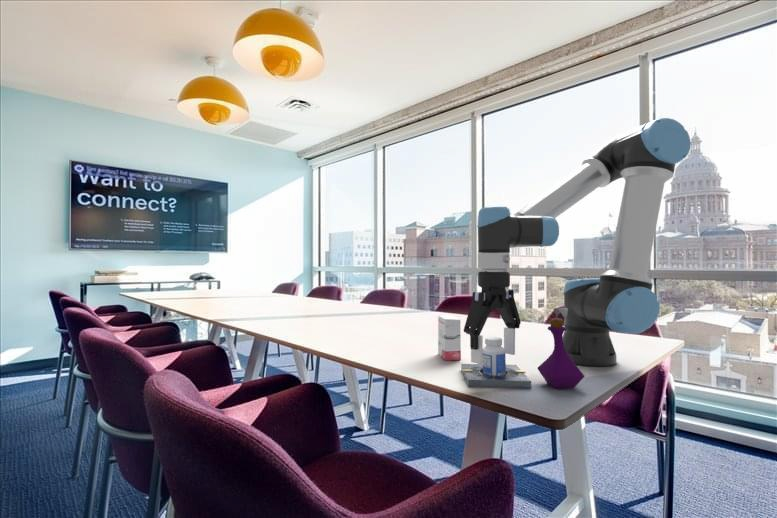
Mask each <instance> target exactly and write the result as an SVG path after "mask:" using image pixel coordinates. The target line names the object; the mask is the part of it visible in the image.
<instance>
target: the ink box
mask: <svg viewBox="0 0 777 518" xmlns="http://www.w3.org/2000/svg"><path fill="white" fill-rule="evenodd" d="M437 317H438V319H437V321H438V323H437V329H438V332H437V333H438V334H437V336H438V339H437V341H438V342H437V347H438V349H437V354H438V355H439V356H440V357H441V358H442V359H443V360H445V361H461V359H462V354H461V353H462V352H461V350H462V349H461V348H462V347H461V346H462V345H461V340H462V339H461V338H462V337H461V336H462V335H461V319H460V318H457V317H456V316H454V315H438V316H437Z"/></svg>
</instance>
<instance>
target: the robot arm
mask: <svg viewBox="0 0 777 518" xmlns="http://www.w3.org/2000/svg"><path fill="white" fill-rule="evenodd" d="M691 145H692V143H691V138H690V134H689V132H688V130H687V129H685V126H684V125H683V124H682V123H681V122H679V121H677V120H676V119H674V118H669V117H661V118H658V119H654V120H649V121H646V123H644V124H642V125H639V126H638V127H634V128H633V129H630V130H628V131H626V132H623V133H621V134H618V135H616V136H615V137H613V138H612V139H610V140H609V141H608V142H606V143H605V144H603V145H602V146H601V147H600V148H598V149H597V150H596V151H595V152H594V153H591V155H589V156H588V157H586V158H585V159H584V160H583V161H582V162H581V166H580V167H579V168H577V169H576V170H574V171H573V172H571V173H570V174H569V175H567V176H566V177H564V178H563V179H562V180H561V181H558V183H556V184H555V185H553V186H552V187H551V188H549V189H548V190H546V191H545V192H544V193H542V194H540V195H539V196H538V197H537V198H535V199H534V200H532V201H531V202H530V203H529V204H527V205H525V206H524V207H522V208H521V209H520V210H518V211H517V212H516V213H514V214H511V210H510V208H509V207H508V206H503V205H491V206H485V207H482V208H480V209H479V211H478V215H477V225H476V228H477V249H478V250H477V251H478V252H477V269H478V270H479V271H478V273H477V286H479V287H480V288H481V291H473V292H472V297H471V303H470V307H469V310H468V314H467V316H466V321H465V323H464V328H463V333H466V335H469V336H470V337H469V339H470V340H469V342H470V343H469V344H470V345H469V346H470V362H471V363H472V364H483V348H484V346H483V339H484V337H483V335H481V333H482V331H483V328H484V326H485V325H486V322H487V320H488V318H489V315H490V314H491V313H492V312H493V311H496V310H497V311H498V313H499V314H500V317H501V319H502V321H503V322H504V325H505V327H503V348H504V349H505V355H511V356H514V355H516V329H519V328H520V327H521V326H520V325H521V317H520V315H519V311H518V308H517V304H516V301H515V295H514V294H515V291H514V289H511V288H509V287H510V286H511V273H510V272H509V271H508V270H510V264H511V263H510V262H511V261H510V260H511V257H510V255H511V254H510V253H511V248H526V247H527V248H529V247H540V248H543V247H551V246H554V245H555V244H556V243H557V242H558V240H559V236H560V226H559V222H558V220H557V219H556V218H558V217H559V216H560V215H561V214H564V212H566V211H567V210H569V209H570V208H571V207H573V206H575V205H576V204H577V203H578V202H580V201H581V200H583V199H584V198H585V197H587V196H588V195H590V194H591V193H593V192H594V191H595V190H596V189H598V188H605V187H606V186H608V185H610V184H611V183H612V182H615V181H617V180H619V179H621V178H623V179H624V180H625V182H624V188H623V192H622V198H621V202H620V207H619V208H620V209H619V212H618V218H617V223H616V228H615V233H614V239H613V244H612V249H611V254H610V260H609V266H608V269H607V270H605V271H604V272H602V273H600V276H599V278H582V279H581V278H580V279H572V280H571V279H570V280H568V281H566V282H565V283H564V289H563V296H564V297H563V300H564V302H563V304H564V305H563V308H567V309H568V313H567V316H566V317H565V318H564V317H563V318H564V320H563V327H565V328H566V330H565V331H564V332H563V335H562V339H563V343H564V347H565V350H566V352H567V354H568V355H569V357H570V358H571V359H572V360H573V362H574V363H575V364H576V365H581V366H587V367H589V366H591V367H608V366H609V367H610V366H614V365H617V353H616V349H615V347H614V344H613V341H612V339H611V335H610V331H613V332H615V333H619V334H629V335H631V334H632V335H637V334H638V335H639V334H640V333H641V334H642V333H643V332H646V330H649V329H650V328H651V327H652V326H653V325H654V324H655V323H656V321H657V319H658V318H659V314H660V310H661V307H660V300H658V299H657V295H656V294H655V293H654V292H653V291H652V290H653V282H652V280H651V279H650V278H649V277H648V273H649V267H650V260H651V255H652V251H653V247H654V246H653V245H654V240H655V234H656V229H657V223H658V219H659V213H660V209H661V204H662V197H663V193H664V187H665V183H666V182H668V181H670V180H671V179H672V178H673V177H674V173H675V168H676V164H678V163H680V162H682V161H683V160H684V159H685V158H687V157H688V155H689V153H690V150H691Z"/></svg>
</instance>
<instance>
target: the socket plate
mask: <svg viewBox="0 0 777 518" xmlns="http://www.w3.org/2000/svg"><path fill="white" fill-rule="evenodd" d="M461 372H462V375H463V377H464V380H465V382H466V384H467V387H468V388H473V387H474V388H504V389H505V388H506V389H507V388H509V389H510V388H511V389H517V388H518V389H532V380H531V379H530V378H529V377H528V376H527V375H526V373H527V371H526V370H522V369H520V368H519V366H518V365H517V364H506V375H501V376H492V375H486V374H483V364H477V363H461Z"/></svg>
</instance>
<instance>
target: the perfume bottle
mask: <svg viewBox="0 0 777 518" xmlns="http://www.w3.org/2000/svg"><path fill="white" fill-rule="evenodd" d="M553 312H554V314H555V316H556V317H554V318H551V319H550V320H549V323H550V326H547V330H548V331H550V332H551V334H552V336H553V344H554V345H553V346H554V347H553V351H552V352H551V354H550V355H549V357H547V359H545V360H544V361H543V362H542V363H541V364H540V365H539V366H537V370H538V372H539V374H541V376H542V377H543V380H544V381H545V382H546V384H548V385H549V386H551V388H554V389H556V390H564V389H565V390H568V389H569V390H570V389H571V390H572V389H574V388H575V387H576V386H577V385H578V384H579V383H580V382H581V381H582V380H583V379H584V378H585V375H584V373H583V372H582V371H581V369H580V368H579V367H578V366H577V364H575V363H574V362H573V360H572V359H571V358H570V357H569V355H568V354H567V352H566V350H565V347H564V343H563V339H562V337H563V334H564V331H565V330H566V328H565V327H564V320H563V319H562V318H558V316H559V314H561V315H562V317H563V318H565V317H566V316H567V313H568V309H567V308H564V307H554V308H553Z"/></svg>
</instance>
